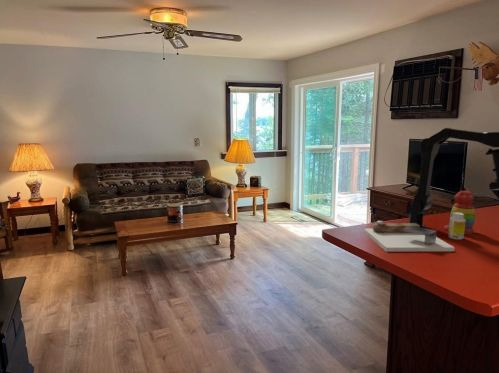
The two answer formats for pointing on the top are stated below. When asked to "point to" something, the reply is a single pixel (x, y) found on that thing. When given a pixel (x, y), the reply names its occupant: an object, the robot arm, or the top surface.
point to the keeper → (423, 233)
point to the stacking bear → (464, 210)
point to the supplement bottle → (456, 226)
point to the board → (405, 241)
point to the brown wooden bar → (392, 227)
